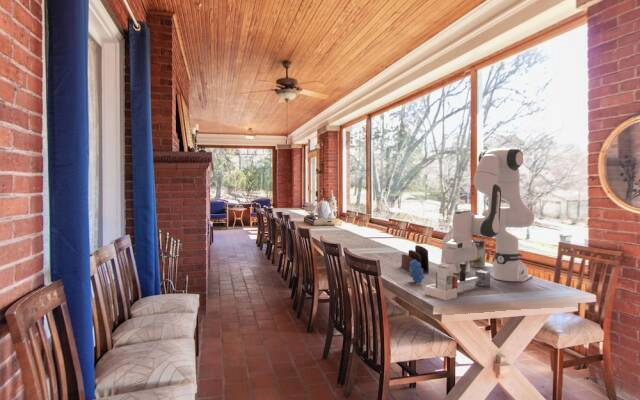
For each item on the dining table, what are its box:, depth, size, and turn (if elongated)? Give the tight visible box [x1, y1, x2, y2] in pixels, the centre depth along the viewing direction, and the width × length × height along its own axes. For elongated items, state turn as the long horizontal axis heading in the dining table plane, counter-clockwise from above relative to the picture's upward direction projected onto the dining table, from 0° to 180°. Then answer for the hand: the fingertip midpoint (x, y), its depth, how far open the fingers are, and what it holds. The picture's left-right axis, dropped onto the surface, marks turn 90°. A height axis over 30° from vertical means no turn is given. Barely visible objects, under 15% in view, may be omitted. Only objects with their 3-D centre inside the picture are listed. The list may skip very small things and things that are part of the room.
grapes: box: [408, 259, 425, 284], centre depth 215 cm, size 12×7×12 cm, turn 22°
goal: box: [424, 283, 458, 301], centre depth 191 cm, size 8×12×4 cm, turn 34°
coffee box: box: [469, 239, 486, 268], centre depth 255 cm, size 9×6×16 cm
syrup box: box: [435, 262, 454, 291], centre depth 192 cm, size 6×6×14 cm
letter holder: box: [401, 244, 430, 274], centre depth 246 cm, size 10×20×14 cm, turn 7°
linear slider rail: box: [453, 264, 481, 290], centre depth 201 cm, size 24×7×12 cm, turn 124°
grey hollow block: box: [474, 269, 491, 288], centre depth 209 cm, size 4×5×7 cm
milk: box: [440, 226, 471, 274], centre depth 243 cm, size 12×12×26 cm
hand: (461, 270), depth 199 cm, fingers open, 4 cm apart
